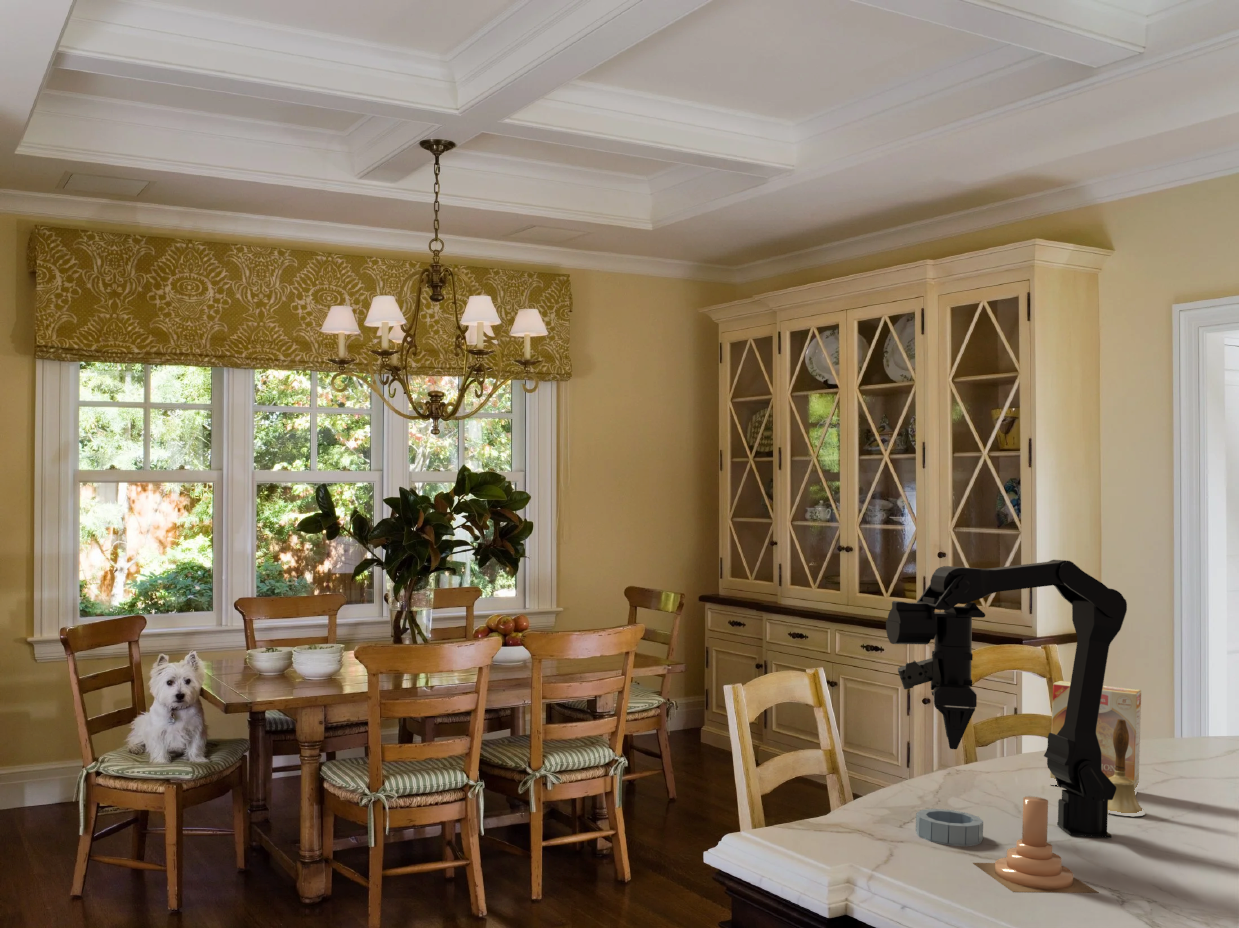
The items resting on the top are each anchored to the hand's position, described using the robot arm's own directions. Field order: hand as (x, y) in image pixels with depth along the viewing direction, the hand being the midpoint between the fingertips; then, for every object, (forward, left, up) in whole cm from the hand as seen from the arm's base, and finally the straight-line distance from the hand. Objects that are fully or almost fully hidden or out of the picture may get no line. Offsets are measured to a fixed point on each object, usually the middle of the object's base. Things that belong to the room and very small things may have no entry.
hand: (951, 743), depth 174 cm
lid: (-6, +24, -13) cm, 28 cm away
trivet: (-6, +24, -14) cm, 28 cm away
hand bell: (-35, -20, -14) cm, 42 cm away
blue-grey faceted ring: (+1, +6, -14) cm, 15 cm away
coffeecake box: (-37, -37, -14) cm, 54 cm away
